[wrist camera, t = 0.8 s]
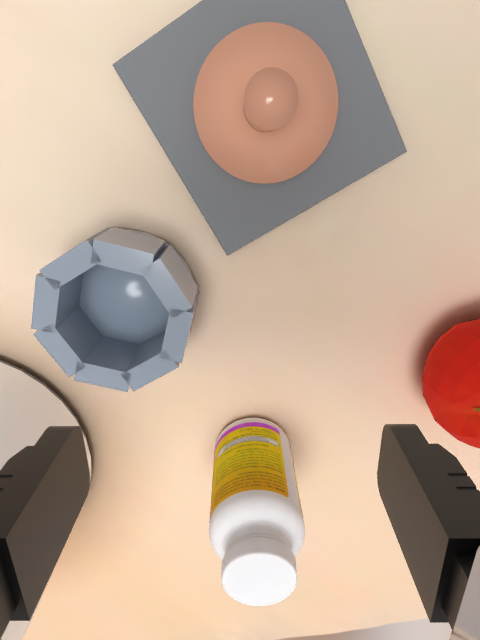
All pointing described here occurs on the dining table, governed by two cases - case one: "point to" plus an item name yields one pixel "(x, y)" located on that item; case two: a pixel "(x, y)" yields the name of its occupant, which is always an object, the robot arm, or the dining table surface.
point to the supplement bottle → (255, 512)
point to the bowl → (116, 309)
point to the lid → (265, 102)
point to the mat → (183, 139)
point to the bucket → (28, 430)
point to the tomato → (455, 382)
